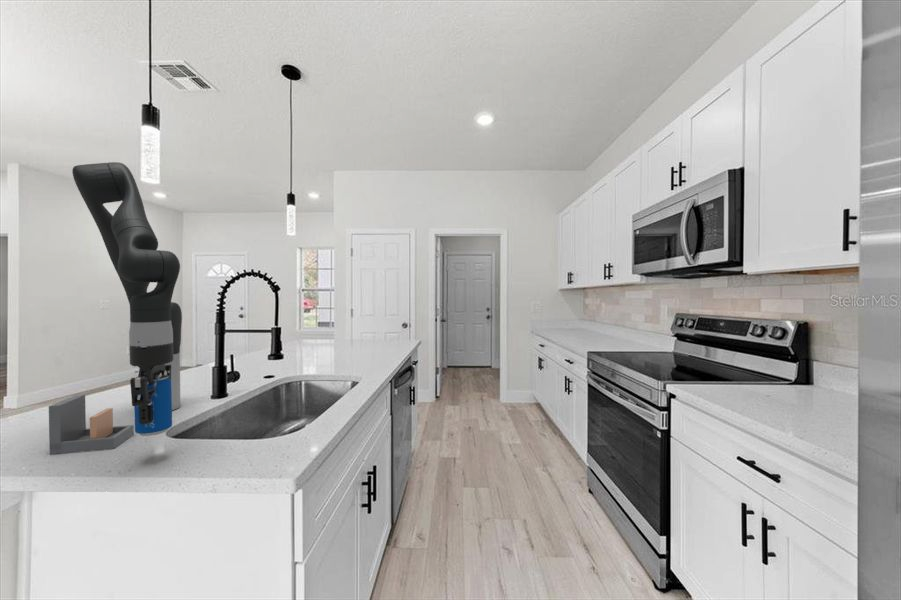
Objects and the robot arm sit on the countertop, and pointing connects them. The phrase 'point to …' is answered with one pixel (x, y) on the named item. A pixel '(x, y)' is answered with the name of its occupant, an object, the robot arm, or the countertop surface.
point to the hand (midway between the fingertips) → (153, 417)
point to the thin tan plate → (101, 424)
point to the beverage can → (157, 410)
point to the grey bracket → (79, 429)
